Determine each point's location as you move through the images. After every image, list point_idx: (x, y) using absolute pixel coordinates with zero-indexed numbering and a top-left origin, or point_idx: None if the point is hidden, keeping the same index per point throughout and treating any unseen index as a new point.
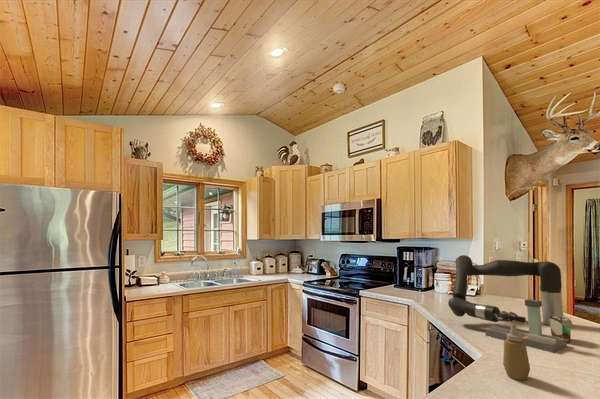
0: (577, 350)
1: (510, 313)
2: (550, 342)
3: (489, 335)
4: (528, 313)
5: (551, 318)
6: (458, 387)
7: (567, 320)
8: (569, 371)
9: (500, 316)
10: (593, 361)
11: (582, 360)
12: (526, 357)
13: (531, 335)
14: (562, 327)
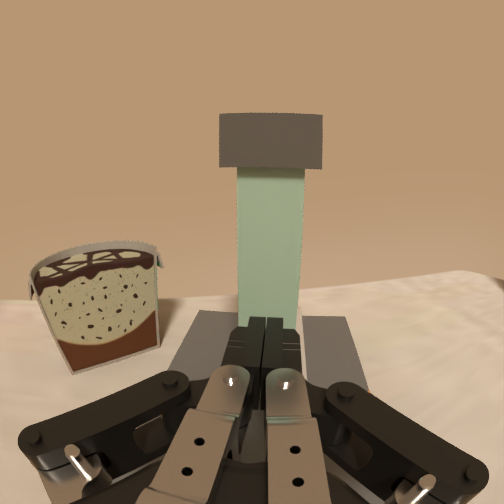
0: None
1: (225, 418)
2: (312, 327)
3: None
4: (300, 242)
5: (53, 285)
6: None
7: (98, 253)
8: (432, 294)
9: (462, 461)
10: (312, 289)
11: (330, 298)
12: None
13: (306, 377)
14: (156, 279)
